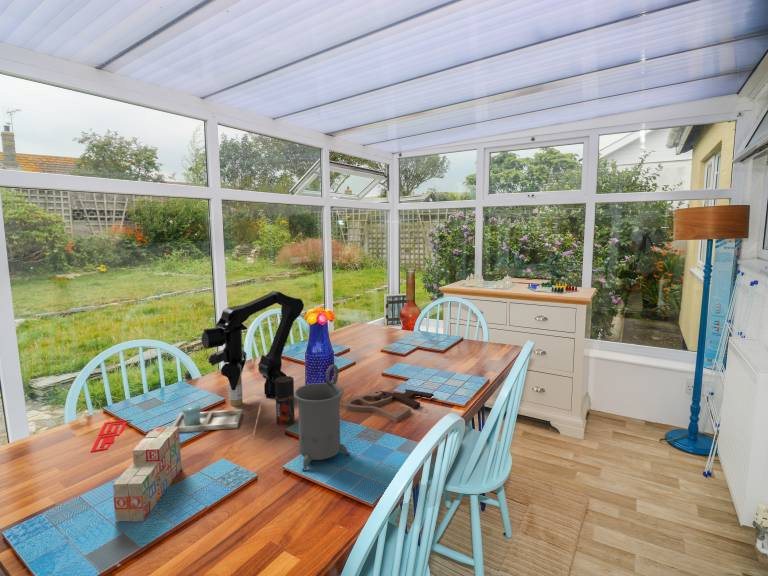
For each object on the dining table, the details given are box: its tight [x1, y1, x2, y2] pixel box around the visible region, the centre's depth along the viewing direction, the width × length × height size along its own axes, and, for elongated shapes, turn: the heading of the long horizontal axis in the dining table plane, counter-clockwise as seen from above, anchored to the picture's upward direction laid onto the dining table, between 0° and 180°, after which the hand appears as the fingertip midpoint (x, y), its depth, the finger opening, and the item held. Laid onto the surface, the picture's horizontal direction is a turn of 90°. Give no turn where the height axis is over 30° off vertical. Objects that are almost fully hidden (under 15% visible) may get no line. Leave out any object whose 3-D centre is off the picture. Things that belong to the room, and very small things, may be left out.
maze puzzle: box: [90, 419, 128, 453], centre depth 137 cm, size 20×20×1 cm
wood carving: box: [342, 389, 435, 423], centre depth 160 cm, size 28×2×24 cm
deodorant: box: [275, 375, 296, 427], centre depth 142 cm, size 6×6×15 cm
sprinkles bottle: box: [228, 371, 243, 407], centre depth 155 cm, size 5×5×13 cm
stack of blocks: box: [112, 426, 182, 523], centre depth 104 cm, size 21×6×12 cm, turn 4°
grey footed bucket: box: [294, 364, 351, 471], centre depth 121 cm, size 19×15×25 cm
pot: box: [181, 403, 201, 426], centre depth 139 cm, size 5×5×6 cm
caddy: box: [170, 408, 243, 433], centre depth 141 cm, size 20×11×2 cm, turn 101°
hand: (235, 385), depth 155 cm, fingers open, 9 cm apart
